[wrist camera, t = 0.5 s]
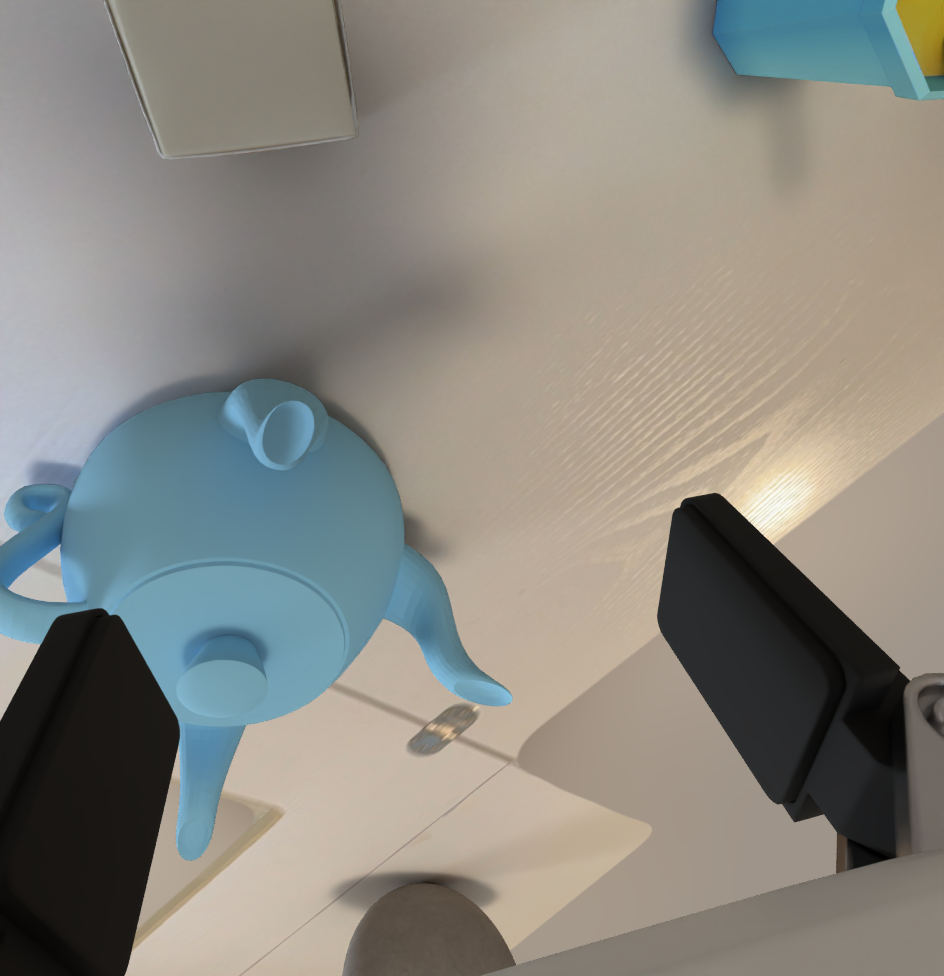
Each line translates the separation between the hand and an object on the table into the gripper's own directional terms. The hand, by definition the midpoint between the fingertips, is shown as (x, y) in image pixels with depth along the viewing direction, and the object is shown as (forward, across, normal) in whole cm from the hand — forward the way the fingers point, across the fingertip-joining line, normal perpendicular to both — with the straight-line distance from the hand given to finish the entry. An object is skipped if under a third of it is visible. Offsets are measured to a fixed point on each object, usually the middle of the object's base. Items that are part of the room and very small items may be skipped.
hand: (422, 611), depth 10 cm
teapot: (+21, +7, +11) cm, 25 cm away
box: (+21, +2, -9) cm, 23 cm away
